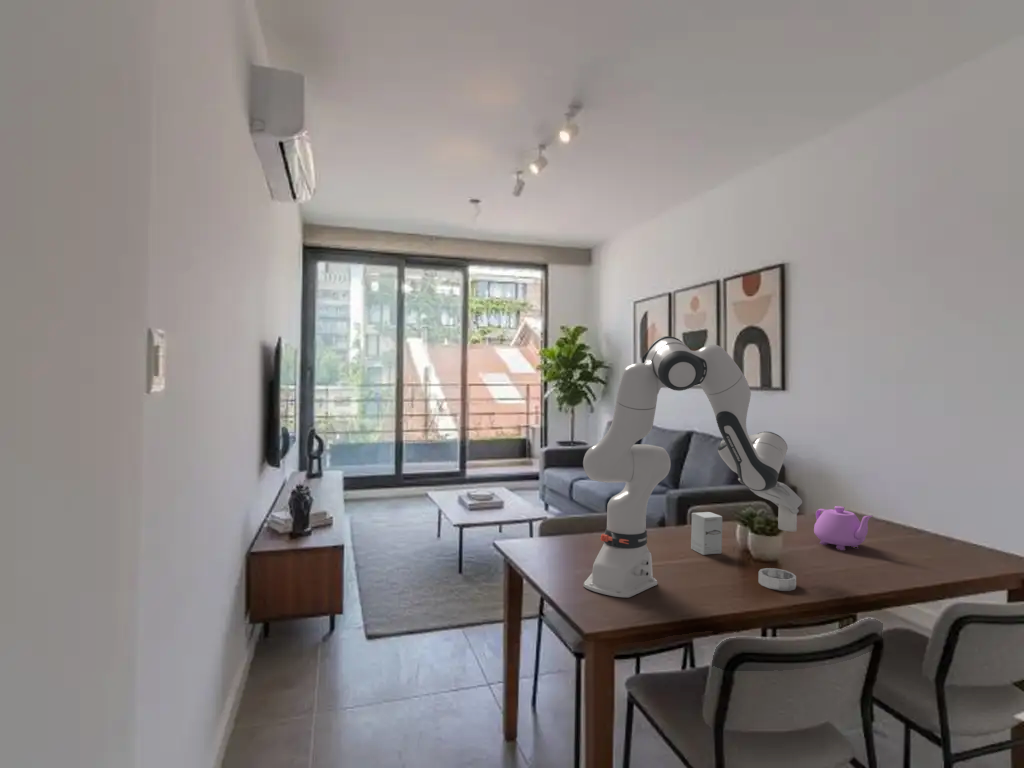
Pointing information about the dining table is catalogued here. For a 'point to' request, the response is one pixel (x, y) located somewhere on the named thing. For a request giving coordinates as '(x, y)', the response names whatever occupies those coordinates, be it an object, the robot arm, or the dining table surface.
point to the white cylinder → (786, 519)
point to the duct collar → (777, 579)
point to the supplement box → (706, 533)
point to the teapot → (840, 527)
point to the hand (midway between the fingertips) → (789, 509)
